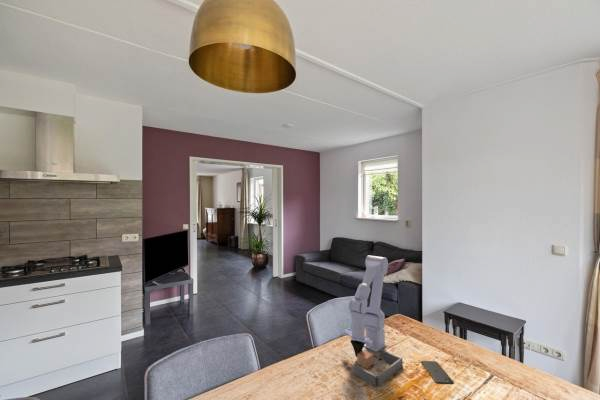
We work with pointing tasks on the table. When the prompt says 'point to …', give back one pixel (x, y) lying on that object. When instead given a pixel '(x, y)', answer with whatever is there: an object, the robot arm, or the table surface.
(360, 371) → the box
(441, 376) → the smartphone
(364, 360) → the terracotta block
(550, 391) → the table surface
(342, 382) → the table surface
